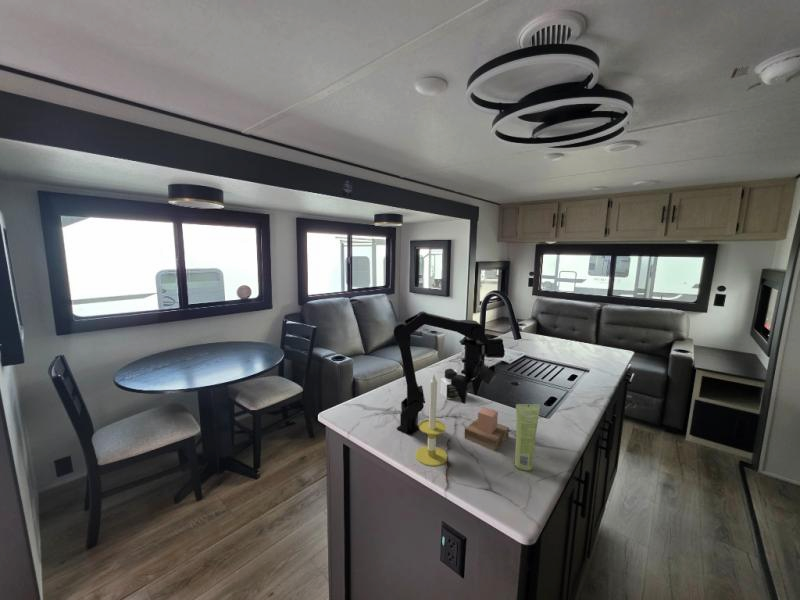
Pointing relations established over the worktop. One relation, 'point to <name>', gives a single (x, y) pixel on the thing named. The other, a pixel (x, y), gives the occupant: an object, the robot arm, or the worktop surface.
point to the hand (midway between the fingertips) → (470, 399)
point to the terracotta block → (487, 420)
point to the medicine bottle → (449, 384)
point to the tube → (526, 434)
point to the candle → (432, 433)
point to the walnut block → (487, 436)
